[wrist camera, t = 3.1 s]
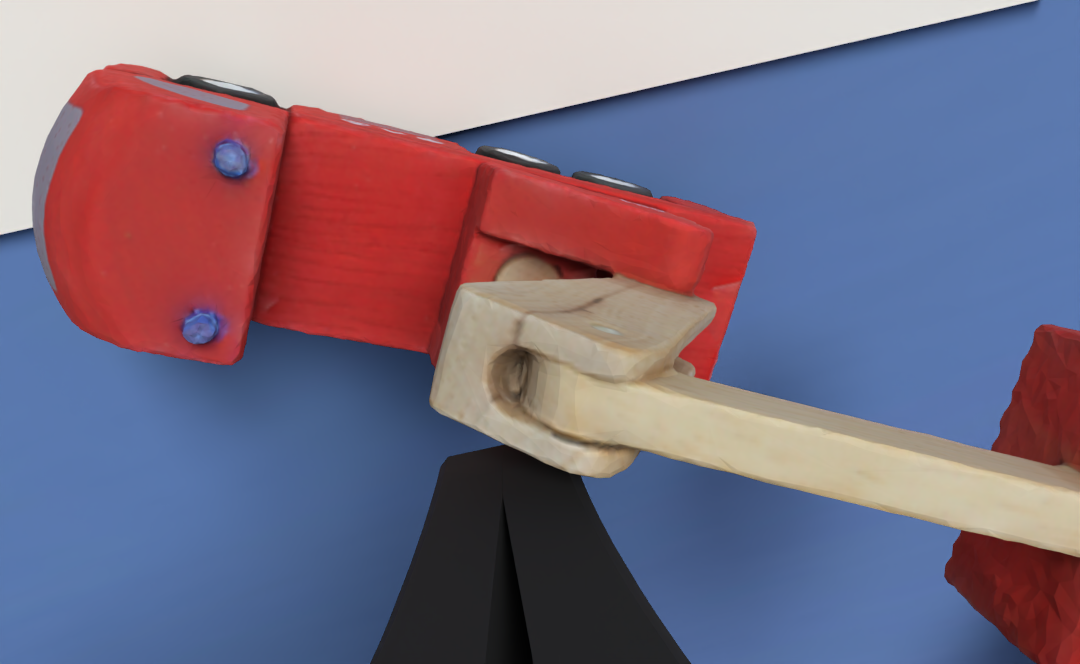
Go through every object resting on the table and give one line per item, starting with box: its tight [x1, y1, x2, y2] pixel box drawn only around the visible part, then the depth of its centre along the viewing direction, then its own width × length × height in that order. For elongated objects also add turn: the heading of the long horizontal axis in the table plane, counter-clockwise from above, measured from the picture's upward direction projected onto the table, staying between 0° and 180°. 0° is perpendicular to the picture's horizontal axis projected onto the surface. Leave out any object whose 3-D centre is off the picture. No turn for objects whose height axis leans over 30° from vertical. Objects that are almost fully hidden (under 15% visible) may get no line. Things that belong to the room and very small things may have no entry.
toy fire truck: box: [32, 63, 1080, 664], centre depth 12 cm, size 3×14×10 cm, turn 72°
